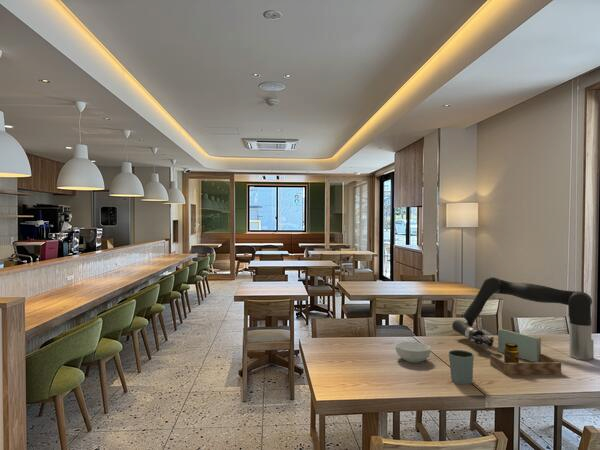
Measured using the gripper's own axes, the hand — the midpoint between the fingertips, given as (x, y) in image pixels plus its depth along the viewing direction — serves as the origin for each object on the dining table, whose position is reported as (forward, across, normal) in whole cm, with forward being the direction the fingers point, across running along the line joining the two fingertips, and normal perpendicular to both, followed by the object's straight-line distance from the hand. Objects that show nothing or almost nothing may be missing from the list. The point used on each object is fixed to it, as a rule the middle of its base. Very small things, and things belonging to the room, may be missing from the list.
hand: (491, 344), depth 206 cm
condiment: (+18, -1, +6) cm, 20 cm away
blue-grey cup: (+31, -30, +6) cm, 44 cm away
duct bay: (+18, +6, +6) cm, 20 cm away
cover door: (+2, +14, +6) cm, 15 cm away
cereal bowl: (+3, -42, +7) cm, 42 cm away
